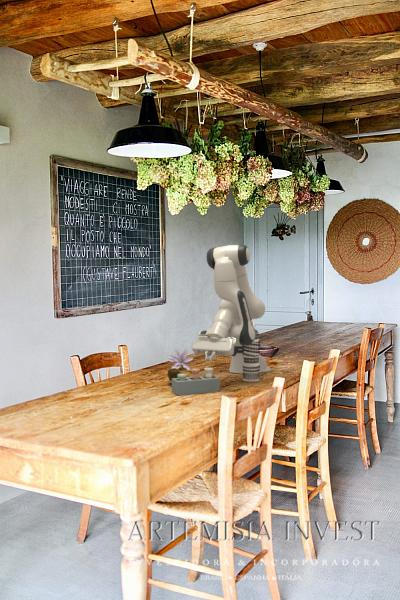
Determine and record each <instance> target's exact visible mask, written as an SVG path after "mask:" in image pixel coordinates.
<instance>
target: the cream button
mask: <svg viewBox="0 0 400 600" xmlns="http://www.w3.org/2000/svg"><path fill="white" fill-rule="evenodd" d="M203 369H204V372H205V376H206V379H208V378H212V375H213V371H214V367H212V366H207V367H204V368H203Z"/></svg>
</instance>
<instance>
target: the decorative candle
mask: <svg viewBox="0 0 400 600" xmlns="http://www.w3.org/2000/svg"><path fill="white" fill-rule="evenodd" d="M254 330H255V339H254V341H253V342H252V343H251V344H250V345H242V347H243V348H242V350H244V351H243V352H242V354H243V357H244V362H243V365H244V366H243V368H244V369H243V371H244V372H243V373H242V381H243V382H251V383H252V382H259V381H260V380H261V379H260V378H261V376H260V375H261V373H259V371H260V369H259V368H260V366H259V357H260V356H259V354H260V353H261V351H260V350H261V348H260V346H261V344H260V343H261V341H260V336H259V335H260V334H259V333H260V332H259V331H258V330H257V329H255V328H254Z"/></svg>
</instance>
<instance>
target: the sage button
mask: <svg viewBox="0 0 400 600" xmlns="http://www.w3.org/2000/svg"><path fill="white" fill-rule="evenodd" d="M186 377H188V376H187V373H182V374H178V378H179V381H185V378H186Z"/></svg>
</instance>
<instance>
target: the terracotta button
mask: <svg viewBox="0 0 400 600" xmlns="http://www.w3.org/2000/svg"><path fill="white" fill-rule="evenodd" d="M190 372H191V373H192V375H191V377H192V380H197V379H199V376H200V372H201V369H200V368H197V367H195V368H190Z"/></svg>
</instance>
